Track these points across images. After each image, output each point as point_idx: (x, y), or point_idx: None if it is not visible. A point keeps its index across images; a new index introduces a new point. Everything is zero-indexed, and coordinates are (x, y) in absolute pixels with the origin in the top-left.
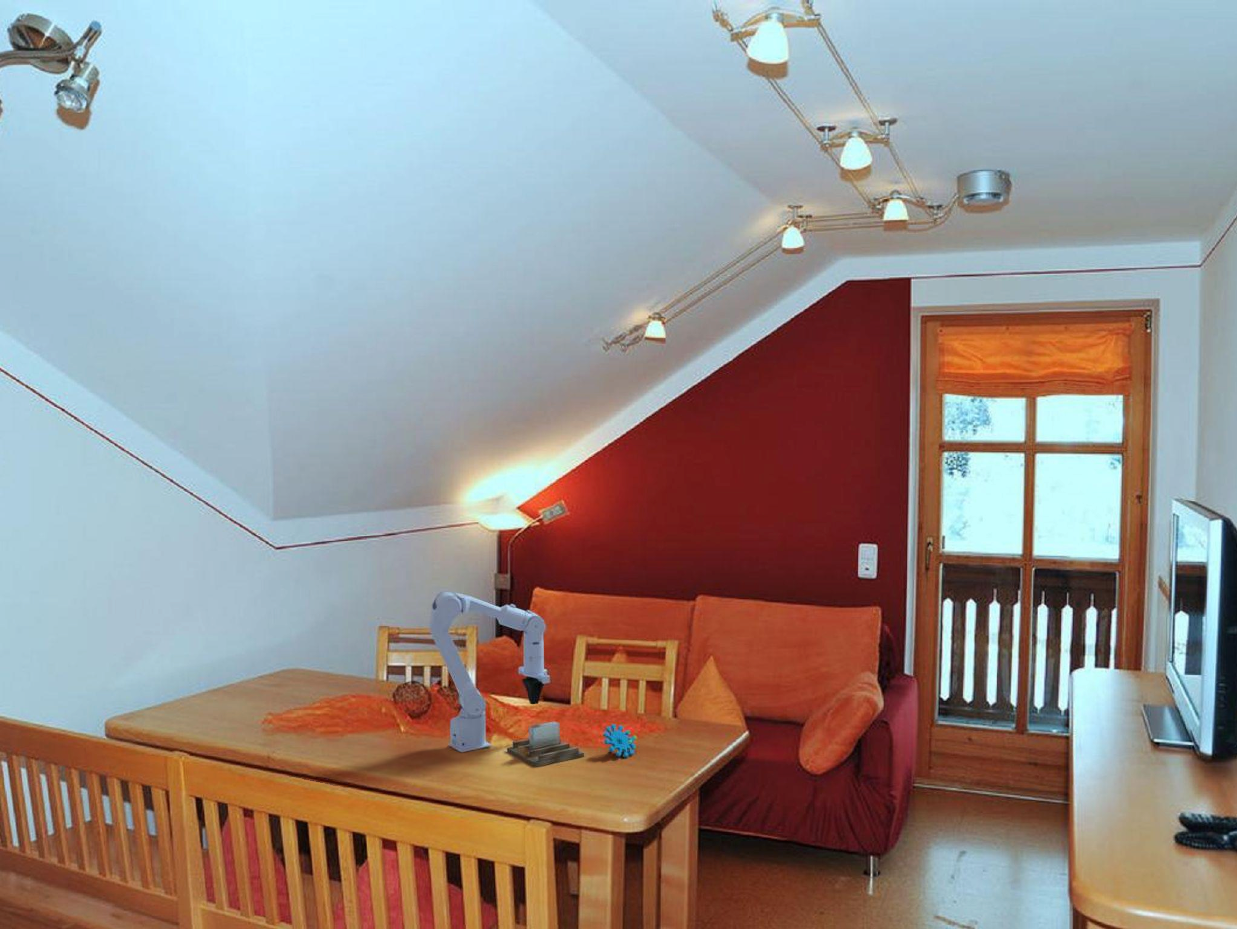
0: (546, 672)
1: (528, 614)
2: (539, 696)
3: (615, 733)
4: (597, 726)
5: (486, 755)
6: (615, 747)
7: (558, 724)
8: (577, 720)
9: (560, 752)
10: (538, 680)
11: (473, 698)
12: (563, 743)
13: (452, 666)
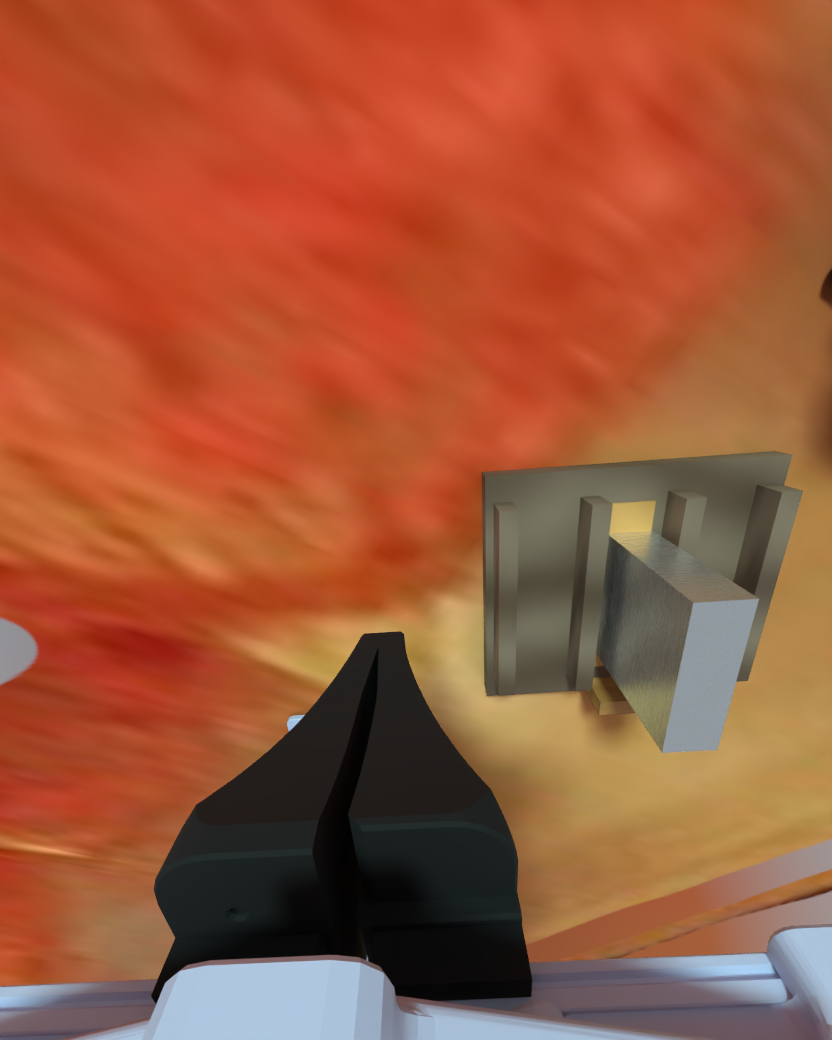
0: (391, 987)
1: None
2: (410, 669)
3: None
4: (338, 28)
5: (481, 749)
6: None
7: (752, 600)
8: (132, 100)
9: (770, 588)
10: (557, 982)
11: None
12: (593, 474)
13: None
